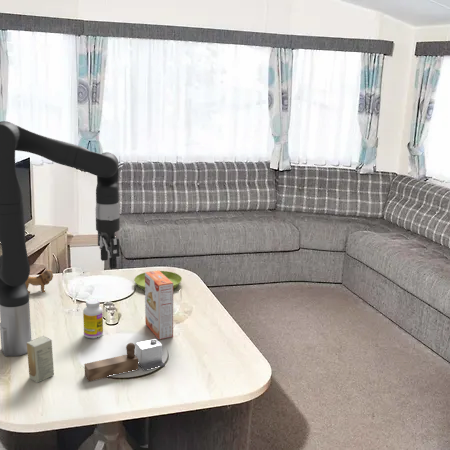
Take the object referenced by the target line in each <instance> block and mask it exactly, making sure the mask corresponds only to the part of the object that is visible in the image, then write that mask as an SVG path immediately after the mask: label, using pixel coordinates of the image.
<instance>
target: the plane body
mask: <svg viewBox="0 0 450 450" xmlns="http://www.w3.org/2000/svg"><path fill="white" fill-rule="evenodd" d="M125 348H126V354H124V355H123V354H122V355H119V356H113V357H110V358H105V359H101V360H96V361H92V362H91V361H90V362H87V363H84V364H83V365H84V366H83V367H84V377H85V378H86V380H87V381H88V382H92V381H97V380H102V379H105V378H108V377H107V376H109V375H113V374H119V373H123V372H127V373H129V372H128V371H131V372H133V371H132V370H136V369H138V370H139V364H138V358H137V357H136V344H135V343H133V342H129V343H127V344H126V347H125ZM136 371H137V370H136ZM123 374H124V373H123ZM119 375H120V374H119Z"/></svg>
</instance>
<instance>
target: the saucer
mask: <svg viewBox="0 0 450 450" xmlns="http://www.w3.org/2000/svg"><path fill="white" fill-rule="evenodd" d="M159 271H160V272H161V273H162V274H163V275H165V276H166V277H167V278H168V279H169V280H170V281H171V282H172V283H173V290H174V289H176V288H177V287H179V285H180V284H181V282H182V280H183V278H182V276H181V275H180V274H179V273H175V272H173V271H167V270H159ZM149 272H151V271H149ZM133 282H134V284H135V285H137V287H138V288H140V289H141V290H143V291H145V272H143V273H140V274H138V275H136V276H135V277H134V279H133Z"/></svg>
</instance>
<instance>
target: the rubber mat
mask: <svg viewBox="0 0 450 450" xmlns="http://www.w3.org/2000/svg"><path fill="white" fill-rule="evenodd" d="M158 366H161V367H160V368H163V367H165V366H166V364H165V362H163V361H162V362H159V363H154V364H150V365H146V366H142V367H141V369H142V368H143V369H144V370H146V371H148V370H147V369H151V368H155V367H158ZM143 369H142V370H143ZM155 369H156V368H155ZM144 370H143V371H144ZM151 370H152V369H151Z"/></svg>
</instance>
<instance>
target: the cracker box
mask: <svg viewBox="0 0 450 450" xmlns="http://www.w3.org/2000/svg"><path fill="white" fill-rule="evenodd" d="M160 271H161V270H159V269H158V270H152V271H151V272H150V271H145V272H144V273H145V290H144V303H145V305H144V306H145V308H144V309H145V310H144V311H145V312H144V313H145V319H144V320H145V321H144V323H145V326H147V328H148V329H149V330H150V332H151V333H153V335H155V337H156V339H157V340H158V341H159V340H163V339H164V340H165V339H169V338H174V289H173V283H172V282H171V281H170V280H169V279H168V278H167V277H166V276H165V275H163V274H162V273H161V272H160Z"/></svg>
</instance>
